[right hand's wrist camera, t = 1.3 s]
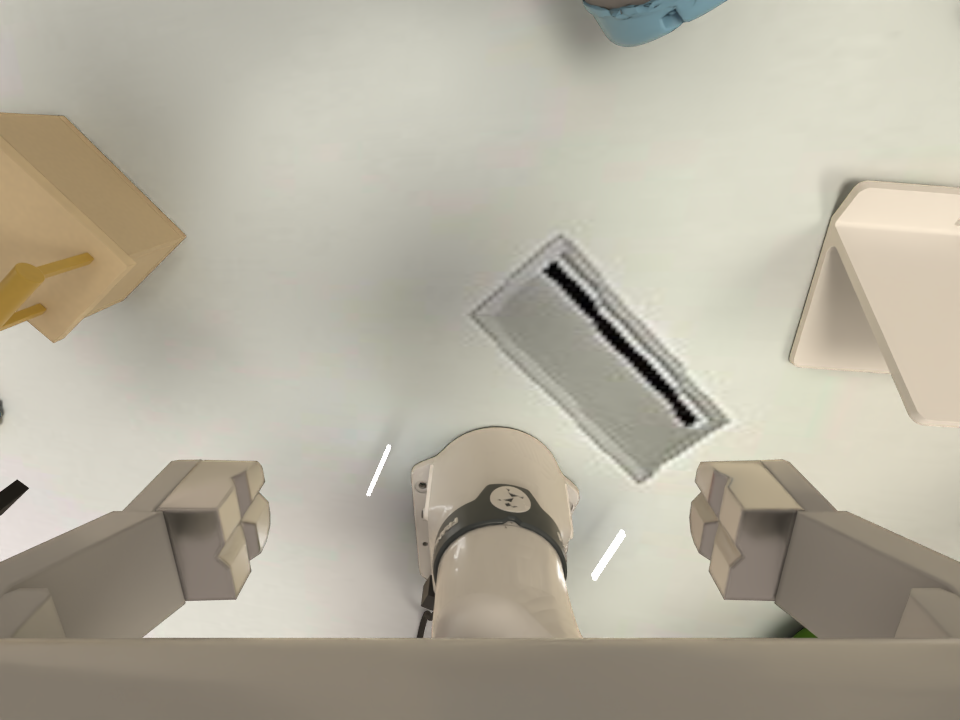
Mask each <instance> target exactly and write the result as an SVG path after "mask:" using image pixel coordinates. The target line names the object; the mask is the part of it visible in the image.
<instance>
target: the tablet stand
mask: <svg viewBox="0 0 960 720" xmlns="http://www.w3.org/2000/svg"><path fill="white" fill-rule="evenodd" d="M959 219H960V188H958V187H946V186H933V185H920V184H908V183H895V182H882V181H870V180H867V181H862V182H860V183H858V184H857V185H856V186H855V187H854V188H853V189H852V191H851V192H850V193H849V195H848V196H847V197H846V199H845V200H844V201H843V203H842V204H841V205H840V207H839V208H838V209H837V211H836V212H835V213H834V215H833V216H832V217H831V221H830V224H829V227H828V231H827V234H826V237H825V240H824V244H823V247H822V250H821V254H820V257H819V260H818V264H817V267H816V270H815V274H814V277H813V280H812V284H811V287H810V290H809V294H808V297H807V300H806V304H805V307H804V310H803V314H802V317H801V320H800V324H799V327H798V330H797V333H796V337H795V340H794V343H793V347H792V350H791V353H790V357H789V359H790V362H791V363H792V364H794V365H795V366H797V367H802V368H816V369H830V370H845V371H859V372H874V373H888V374H891V376H892V378H893V380H894V383H895V385H896V387H897V390H898V392H899V394H900V397H901V399H902V401H903V403H904V406H905V408H906V410H907V413H908V415H909V417H910V418H911V419H912V420H913V421H914V422H916V423H918V424H920V425H928V426H943V427H957V428H960V220H959Z"/></svg>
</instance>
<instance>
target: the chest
mask: <svg viewBox="0 0 960 720" xmlns="http://www.w3.org/2000/svg"><path fill="white" fill-rule="evenodd" d="M0 136H1V137H2V138H3V139H4V140H5V141H6V142H7V143H9V144H10V145H11V146H12V147H13V148H14V149H15V150H16V151H17V152H18V153H19V154H20V155H21V156H22V157H24V158H25V159H26V160H27V161H28V162H29V163H30V164H31V165H32V166H33V167H34V168H35V169H36V170H37V171H39V172H40V173H41V174H42V175H43V176H44V177H45V178H46V179H47V180H48V181H49V182H50V183H51V184H52V185H54V186H55V187H56V188H57V189H58V190H59V191H60V192H61V193H62V194H63V195H64V196H65V197H66V198H67V199H69V200H70V201H71V202H72V203H73V204H74V205H75V206H76V207H77V208H78V209H79V210H80V211H81V212H82V213H84V214H85V215H86V216H87V217H88V218H89V219H90V220H91V221H92V222H93V223H94V224H95V225H96V226H97V227H99V228H100V229H101V230H102V231H103V232H104V233H105V234H106V235H107V236H108V237H109V238H110V239H111V240H112V241H114V242H115V243H116V244H117V245H118V246H119V247H120V248H121V249H122V250H123V251H124V252H125V253H126V254H127V255H129V256H130V257H131V258H132V259H133V260H134V261H135V262H136V263H137V264H136V265H135V266H134V267H133V268H132V269H131V270H130V271H129V272H128V273H127V274H126V275H125V276H124V277H123V278H122V279H121V280H120V281H119V282H118V283H117V284H116V285H115V286H114V288H113V289H112V290H111V291H110V292H109V293H108V294H107V295H106V296H105V297H104V298H103V299H102V300H101V301H100V302H99V303H98V304H97V305H96V306H95V307H94V308H93V309H92V310H91V311H90V312H89V313H88V314H87V315H86V316H85V317H88V316H90V315H92V314H94V313H96V312H99V311H101V310H103V309H105V308H108V307H110V306H112V305H114V304H116V303H119V302H121V301H123V300H124V299H125V298H126V297H127V296H128V295H129V294H130V293H131V292H132V291H133V290H134V289H135V288H136V287H137V286H138V285H139V284H140V283H141V282H142V281H143V280H144V279H145V278H146V277H147V276H148V275H149V274H150V273H151V272H152V271H153V270H154V269H155V268H156V267H157V266H158V265H159V264H160V263H161V262H162V261H163V260H164V259H165V258H166V257H167V256H168V255H169V254H170V253H171V252H172V251H173V250H174V249H175V248H176V247H177V246H178V245H179V244H180V243H181V242H182V241H183V240H184V238H185V237H186V235H185V234H184V233H183V232H182V231H181V230H180V229H179V228H178V227H177V226H176V225H175V224H174V223H173V222H172V221H171V220H169V219H168V218H167V217H166V216H165V215H164V214H163V213H162V212H161V211H160V210H159V209H158V208H157V207H156V206H155V205H154V204H153V203H152V202H151V201H150V200H149V199H148V198H147V197H146V196H145V195H144V194H143V193H142V192H141V191H140V190H139V189H138V188H137V187H136V186H135V185H134V184H133V183H132V182H131V181H130V180H129V179H128V178H127V177H126V176H125V175H124V174H123V173H122V172H121V171H120V170H119V169H118V168H117V167H116V166H114V165H113V164H112V163H111V162H110V161H109V160H108V159H107V158H106V157H105V156H104V155H103V154H102V153H101V152H100V151H99V150H98V149H97V148H96V147H95V146H94V145H93V144H92V143H91V142H90V141H89V140H88V139H87V138H86V137H85V136H84V135H83V134H82V133H81V132H80V131H79V130H78V129H77V128H76V127H75V126H74V125H73V124H72V123H71V122H70V121H69V120H68V119H67V118H66V117H65V116H54V115H36V114H18V113H1V112H0ZM85 317H84V318H85Z"/></svg>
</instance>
